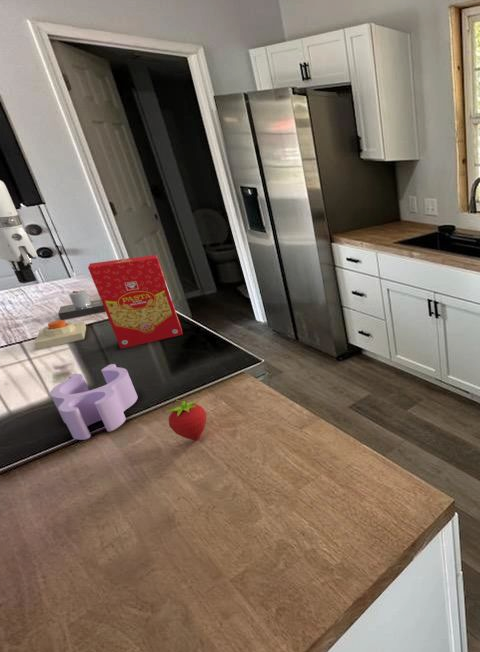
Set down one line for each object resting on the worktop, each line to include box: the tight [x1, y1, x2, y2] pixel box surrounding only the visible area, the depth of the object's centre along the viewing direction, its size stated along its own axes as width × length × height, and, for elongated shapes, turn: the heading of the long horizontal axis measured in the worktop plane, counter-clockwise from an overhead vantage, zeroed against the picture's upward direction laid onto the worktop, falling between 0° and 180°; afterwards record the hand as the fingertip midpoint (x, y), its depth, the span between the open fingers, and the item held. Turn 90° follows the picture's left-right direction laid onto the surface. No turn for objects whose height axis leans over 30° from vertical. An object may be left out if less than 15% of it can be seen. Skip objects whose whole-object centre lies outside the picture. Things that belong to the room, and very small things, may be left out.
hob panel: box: [57, 299, 106, 321], centre depth 148 cm, size 12×9×3 cm
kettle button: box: [47, 319, 66, 329], centre depth 127 cm, size 4×4×2 cm
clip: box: [49, 363, 138, 441], centre depth 91 cm, size 20×12×7 cm, turn 41°
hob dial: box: [68, 290, 91, 308], centre depth 147 cm, size 4×4×5 cm
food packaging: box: [87, 254, 183, 349], centre depth 123 cm, size 15×5×25 cm, turn 129°
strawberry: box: [164, 399, 207, 442], centre depth 81 cm, size 6×8×10 cm
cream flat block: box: [34, 321, 87, 350], centre depth 128 cm, size 12×10×4 cm
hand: (28, 281), depth 128 cm, fingers closed
